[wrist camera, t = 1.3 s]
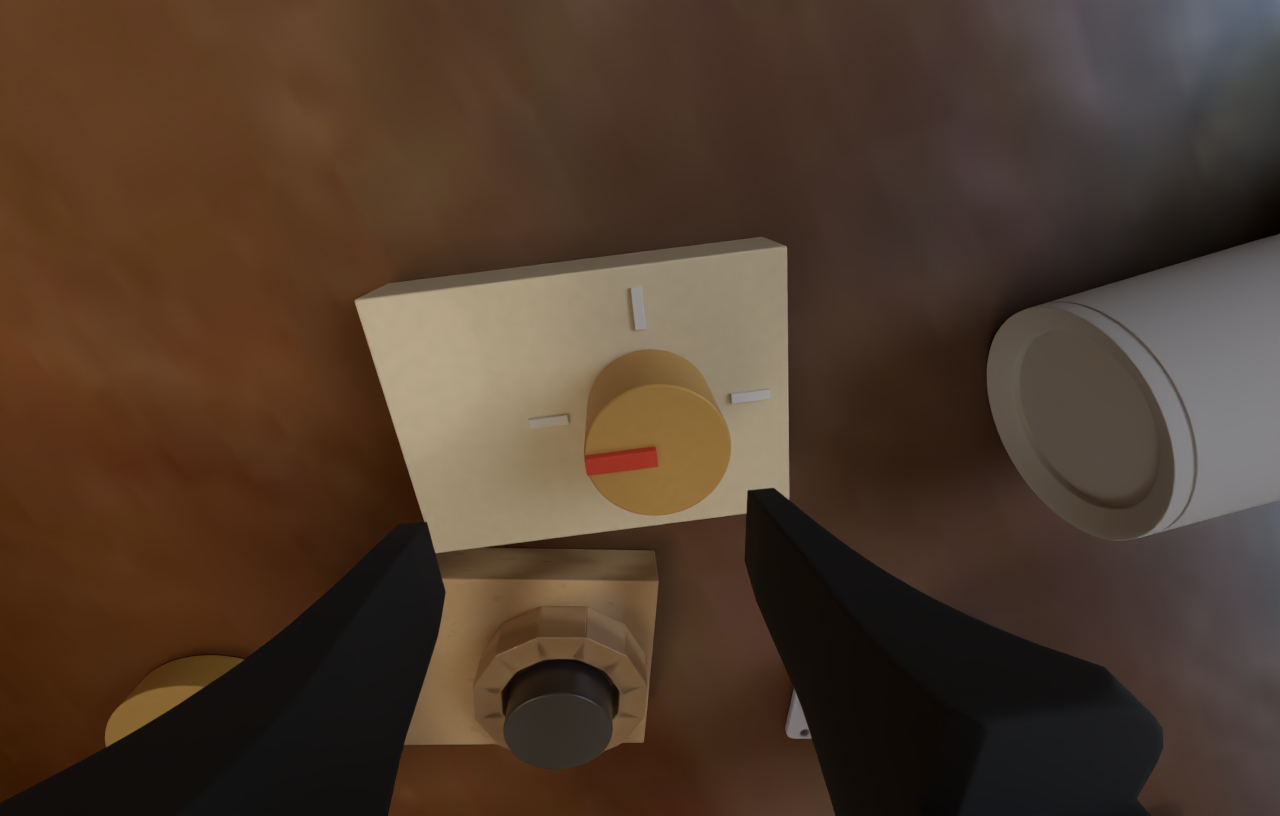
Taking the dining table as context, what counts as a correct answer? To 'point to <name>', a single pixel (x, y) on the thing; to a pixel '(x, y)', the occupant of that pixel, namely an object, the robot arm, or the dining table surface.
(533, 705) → the button
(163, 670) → the bracelet display stand
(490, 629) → the switch box
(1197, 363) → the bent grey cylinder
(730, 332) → the dimmer panel
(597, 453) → the dimmer knob
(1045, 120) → the dining table surface
